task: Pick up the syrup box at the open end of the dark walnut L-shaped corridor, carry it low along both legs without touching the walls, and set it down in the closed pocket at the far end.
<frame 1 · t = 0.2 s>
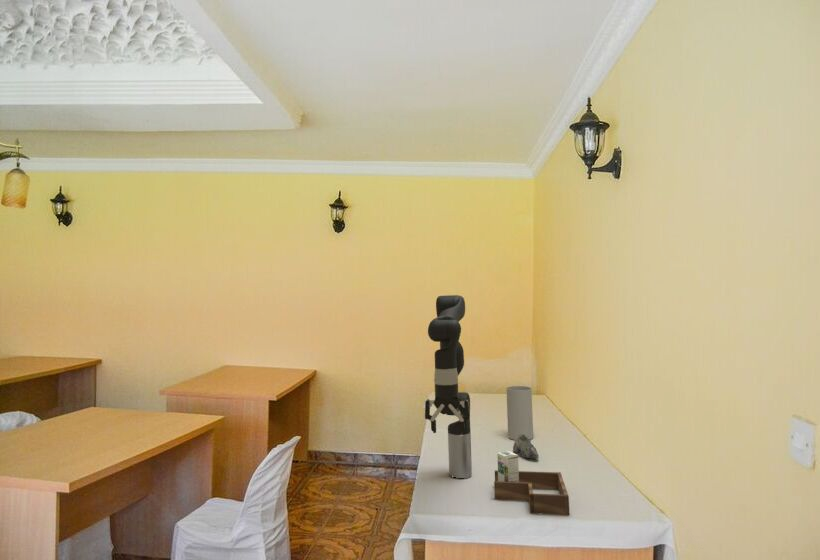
hand: (447, 432, 160), 29 cm above the table, tool pointing down, fingers open, 8 cm apart
walnut corridor: (529, 499, 176), on the table
cylinder vase: (520, 438, 253), on the table
mineral rock: (525, 457, 222), on the table
syrup box: (508, 493, 182), on the table
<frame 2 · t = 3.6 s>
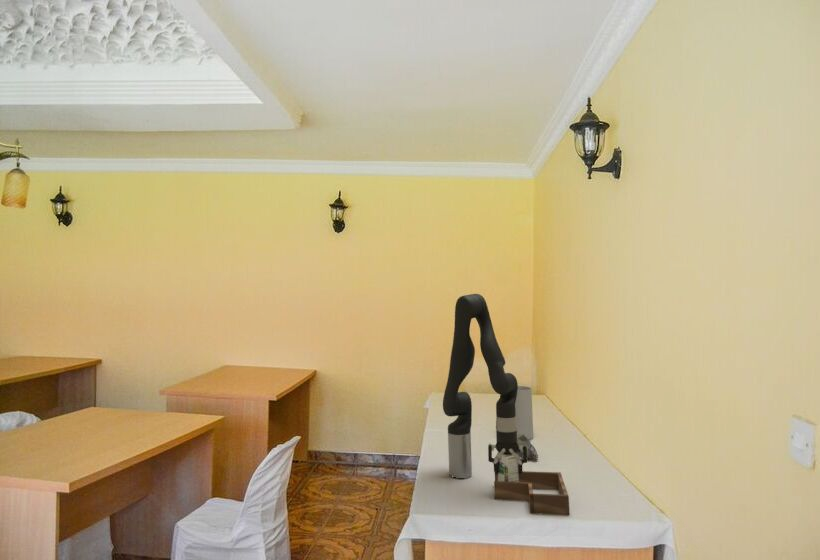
hand: (508, 473, 182), 7 cm above the table, tool pointing down, fingers closed on syrup box, 7 cm apart
syrup box: (508, 493, 182), on the table, touching gripper
everything else where it was.
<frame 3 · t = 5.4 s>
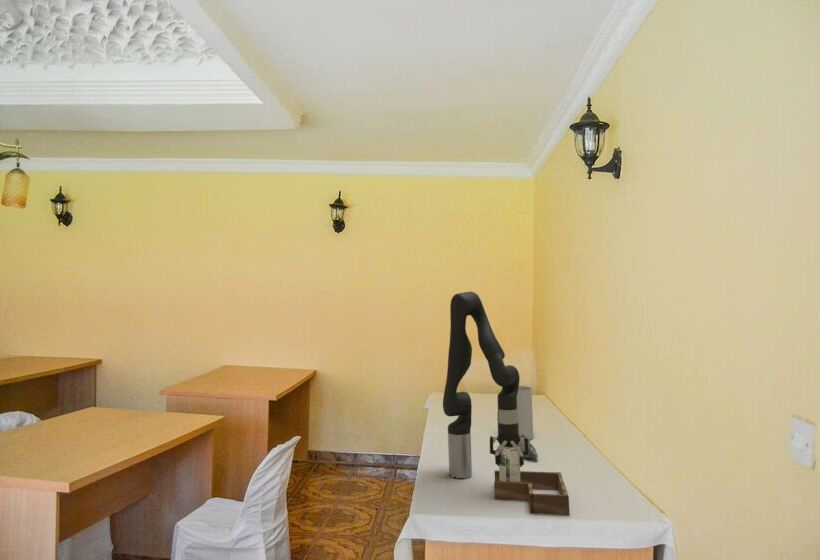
hand: (509, 465, 182), 10 cm above the table, tool pointing down, fingers closed on syrup box, 7 cm apart
syrup box: (510, 485, 182), point 3 cm above the table, touching gripper
everything else where it was.
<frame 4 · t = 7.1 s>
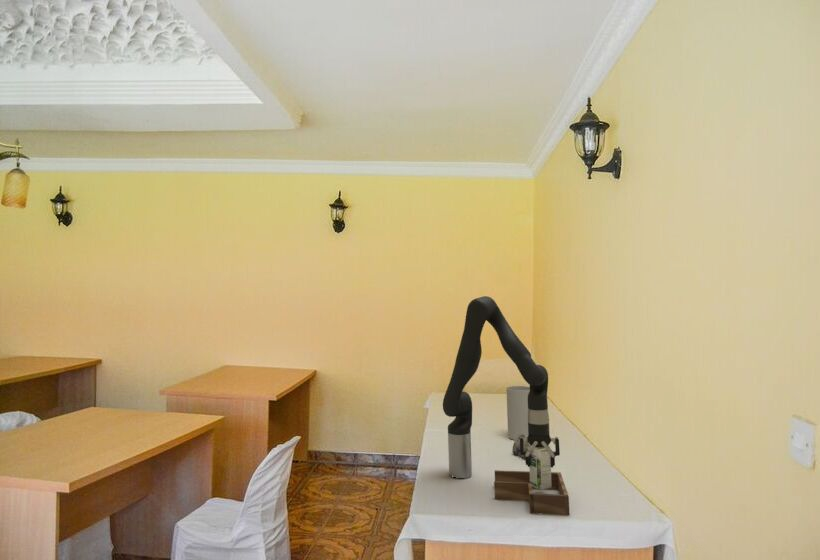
hand: (540, 466, 180), 10 cm above the table, tool pointing down, fingers closed on syrup box, 7 cm apart
syrup box: (540, 487, 180), point 3 cm above the table, touching gripper
everything else where it was.
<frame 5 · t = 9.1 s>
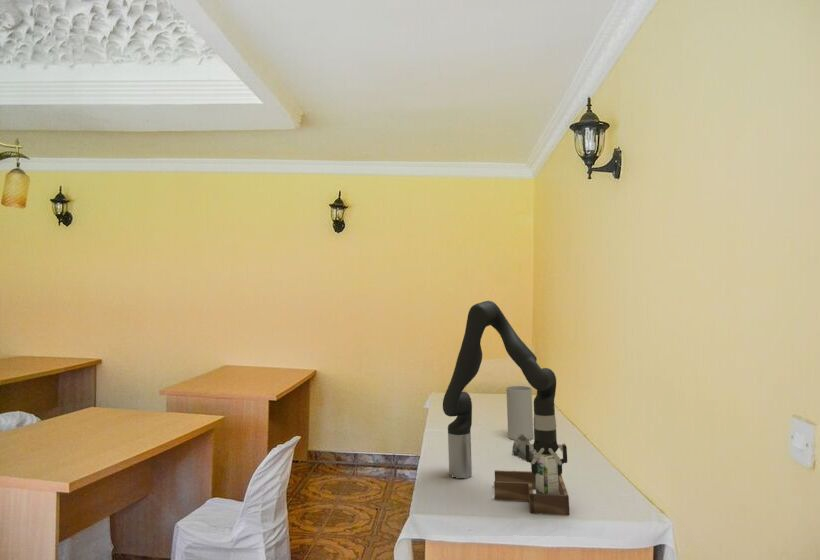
hand: (546, 474, 172), 10 cm above the table, tool pointing down, fingers closed on syrup box, 7 cm apart
syrup box: (547, 495, 172), point 3 cm above the table, touching gripper
everything else where it was.
when the fingers open (8 cm above the table, at t = 10.9 s): syrup box stays where it is, on the table.
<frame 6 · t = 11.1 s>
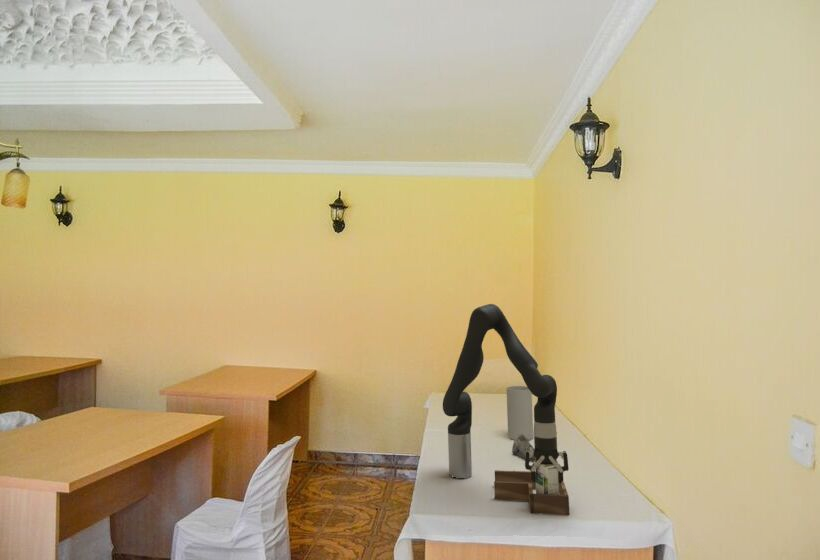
hand: (547, 482, 170), 8 cm above the table, tool pointing down, fingers open, 8 cm apart
syrup box: (548, 506, 170), on the table
everything else where it was.
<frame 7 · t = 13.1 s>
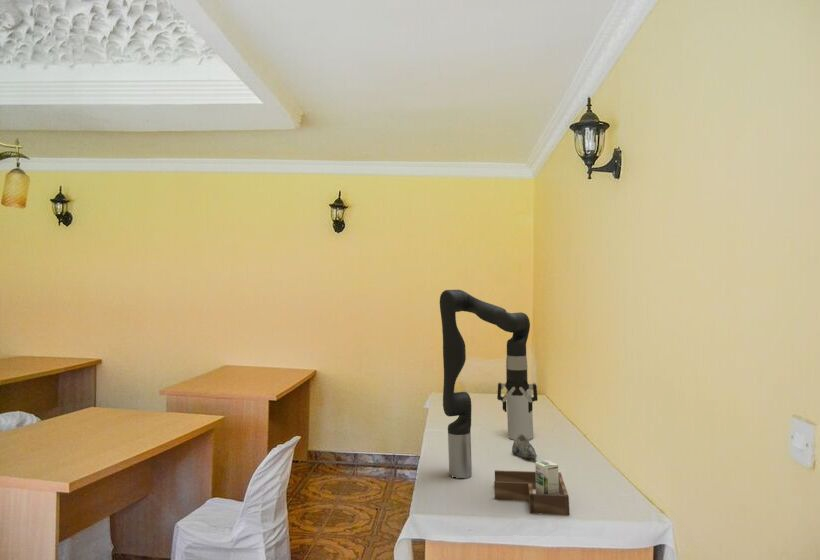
hand: (517, 411, 182), 30 cm above the table, tool pointing down, fingers open, 8 cm apart
nothing on the table moved.
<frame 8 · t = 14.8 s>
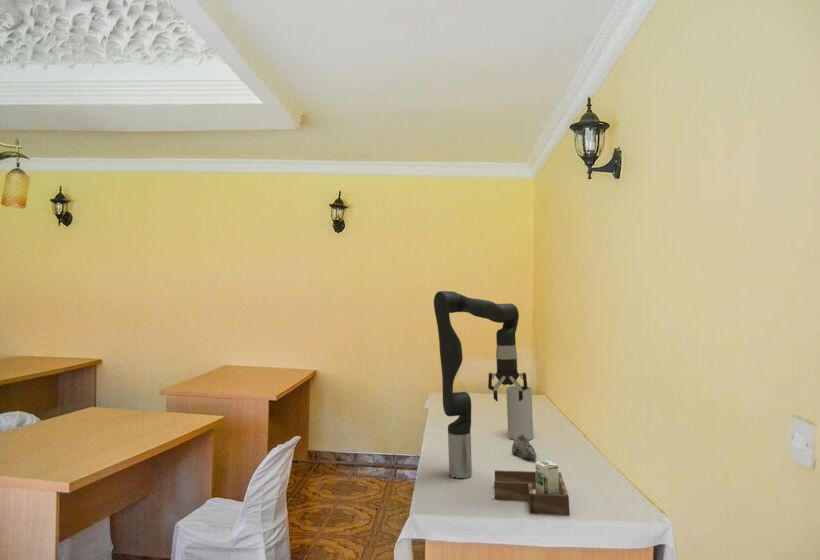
hand: (508, 400, 185), 33 cm above the table, tool pointing down, fingers open, 8 cm apart
nothing on the table moved.
at the end: syrup box 0.3 cm from the target spot, on the table; syrup box tilted 0°; syrup box touching table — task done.
